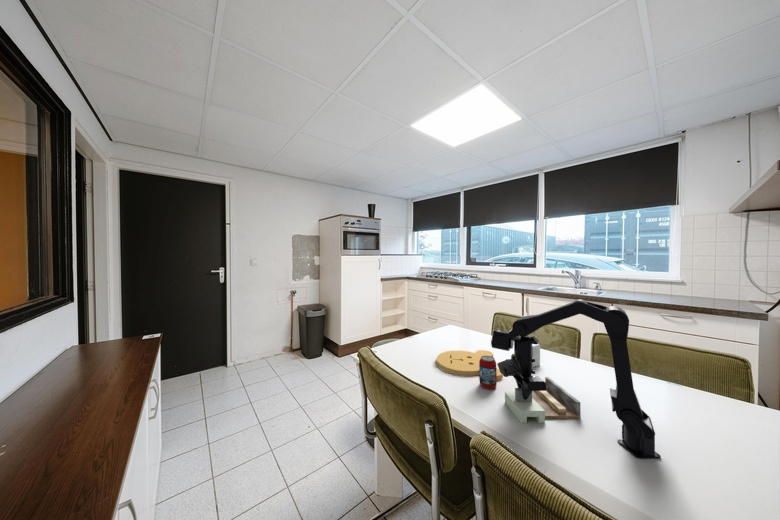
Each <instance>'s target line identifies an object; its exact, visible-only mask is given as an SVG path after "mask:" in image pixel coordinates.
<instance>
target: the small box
mask: <svg viewBox="0 0 780 520" xmlns="http://www.w3.org/2000/svg"><path fill="white" fill-rule="evenodd" d="M532 357H533V358H534V359H535V362H532V363H533V368H536V367H539V366H541V344H539V343H538V344H537V345H536V344H532ZM538 365H539V366H538ZM535 366H536V367H535Z"/></svg>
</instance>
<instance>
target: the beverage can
mask: <svg viewBox="0 0 780 520" xmlns="http://www.w3.org/2000/svg"><path fill="white" fill-rule="evenodd" d="M496 368H497V362H496V359H495V357H494V356H493V357H491V356H482V357H481V359H480V361H479V373H480V375H479V385H480V386H481V387H483V388H484V389H488V390H493V389H494V388H496V387H497V374H496Z"/></svg>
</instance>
